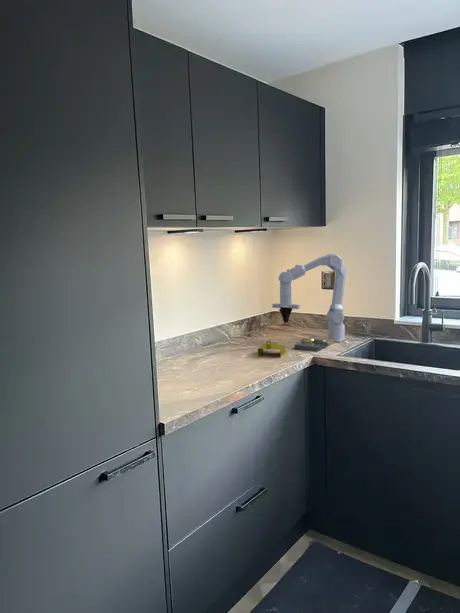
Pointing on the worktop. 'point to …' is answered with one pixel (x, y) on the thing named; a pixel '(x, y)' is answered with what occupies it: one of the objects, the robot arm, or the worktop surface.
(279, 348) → the bracket
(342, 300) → the robot arm
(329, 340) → the brass plate
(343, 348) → the worktop surface
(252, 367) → the worktop surface
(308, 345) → the fixed leaf
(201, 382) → the worktop surface
